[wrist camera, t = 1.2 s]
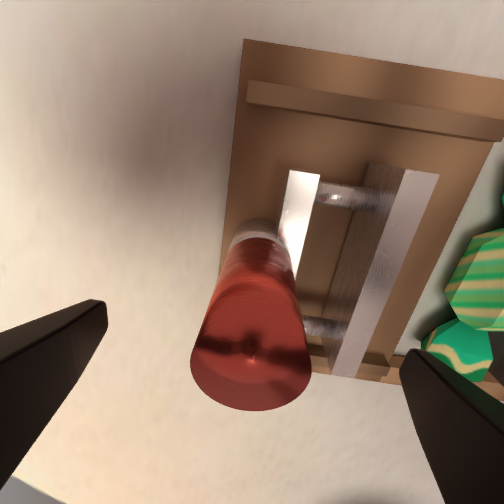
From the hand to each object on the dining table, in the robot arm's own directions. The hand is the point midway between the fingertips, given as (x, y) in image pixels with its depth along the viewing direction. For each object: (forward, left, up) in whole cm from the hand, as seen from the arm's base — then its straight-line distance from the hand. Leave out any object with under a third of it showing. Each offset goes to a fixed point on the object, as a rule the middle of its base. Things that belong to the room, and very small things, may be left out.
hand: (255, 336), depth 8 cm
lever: (-2, 0, -7) cm, 7 cm away
